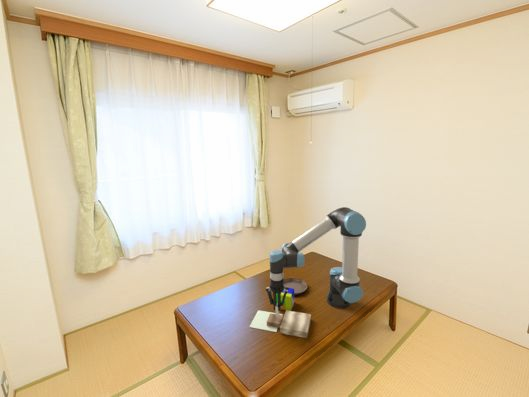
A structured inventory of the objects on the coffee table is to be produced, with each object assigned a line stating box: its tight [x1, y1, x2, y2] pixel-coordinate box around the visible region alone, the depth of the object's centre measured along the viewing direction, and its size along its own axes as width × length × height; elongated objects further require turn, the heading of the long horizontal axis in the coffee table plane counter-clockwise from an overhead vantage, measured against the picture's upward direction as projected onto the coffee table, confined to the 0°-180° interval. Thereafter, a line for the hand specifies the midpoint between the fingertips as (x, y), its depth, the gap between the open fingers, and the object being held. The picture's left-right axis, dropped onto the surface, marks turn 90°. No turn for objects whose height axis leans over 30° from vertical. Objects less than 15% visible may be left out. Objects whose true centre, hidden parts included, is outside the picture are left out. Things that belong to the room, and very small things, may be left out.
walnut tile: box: [267, 313, 284, 329], centre depth 155 cm, size 8×8×2 cm
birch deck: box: [279, 310, 312, 339], centre depth 152 cm, size 15×16×4 cm
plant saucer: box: [283, 277, 308, 296], centre depth 191 cm, size 21×21×3 cm
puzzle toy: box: [276, 287, 295, 311], centre depth 171 cm, size 10×10×10 cm
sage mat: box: [249, 309, 284, 333], centre depth 157 cm, size 16×16×1 cm
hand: (277, 315), depth 154 cm, fingers closed
